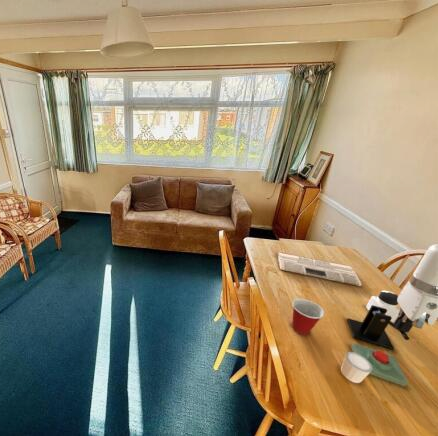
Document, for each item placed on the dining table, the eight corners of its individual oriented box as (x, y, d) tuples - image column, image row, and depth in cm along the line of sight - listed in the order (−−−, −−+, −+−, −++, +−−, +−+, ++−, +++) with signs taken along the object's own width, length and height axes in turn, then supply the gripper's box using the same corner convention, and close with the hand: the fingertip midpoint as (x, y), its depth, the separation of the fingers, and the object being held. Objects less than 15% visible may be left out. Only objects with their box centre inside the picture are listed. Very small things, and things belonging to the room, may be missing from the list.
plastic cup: (300, 315, 102) (308, 295, 97) (321, 336, 92) (331, 315, 87) (279, 320, 100) (286, 299, 95) (299, 342, 90) (308, 320, 85)
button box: (391, 360, 84) (396, 352, 82) (404, 386, 75) (410, 379, 74) (350, 346, 88) (354, 339, 87) (359, 370, 80) (363, 363, 78)
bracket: (382, 330, 95) (396, 307, 90) (392, 350, 87) (409, 327, 81) (346, 319, 100) (357, 297, 94) (353, 338, 92) (366, 315, 86)
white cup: (367, 388, 75) (376, 375, 72) (342, 380, 77) (350, 367, 74) (358, 368, 81) (366, 355, 78) (335, 361, 83) (342, 349, 80)
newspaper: (280, 270, 131) (281, 266, 130) (277, 253, 147) (278, 249, 146) (360, 287, 118) (362, 283, 117) (346, 266, 134) (348, 262, 133)
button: (384, 356, 81) (386, 353, 80) (388, 365, 78) (391, 362, 77) (371, 352, 82) (373, 348, 82) (375, 360, 80) (377, 357, 79)
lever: (397, 328, 90) (404, 326, 89) (405, 341, 86) (412, 338, 84) (370, 308, 92) (376, 305, 91) (376, 319, 87) (382, 316, 86)
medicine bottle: (394, 323, 98) (407, 302, 93) (373, 318, 100) (385, 298, 95) (384, 310, 104) (396, 290, 99) (365, 307, 106) (376, 287, 101)
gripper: (465, 306, 59) (429, 353, 66) (432, 273, 71) (404, 316, 79) (425, 297, 62) (395, 343, 69) (399, 267, 74) (376, 308, 82)
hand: (400, 328), depth 74 cm, fingers closed
